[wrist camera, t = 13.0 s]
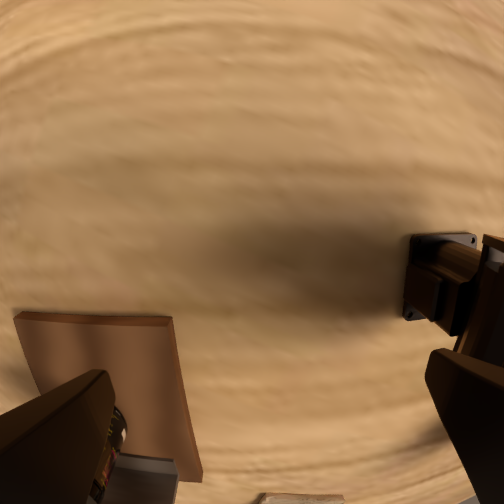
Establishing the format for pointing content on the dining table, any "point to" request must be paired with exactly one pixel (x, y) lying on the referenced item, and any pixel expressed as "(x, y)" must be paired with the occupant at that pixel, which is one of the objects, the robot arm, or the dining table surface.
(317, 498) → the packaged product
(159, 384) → the shelf board
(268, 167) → the dining table surface
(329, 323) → the dining table surface
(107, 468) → the supplement container
